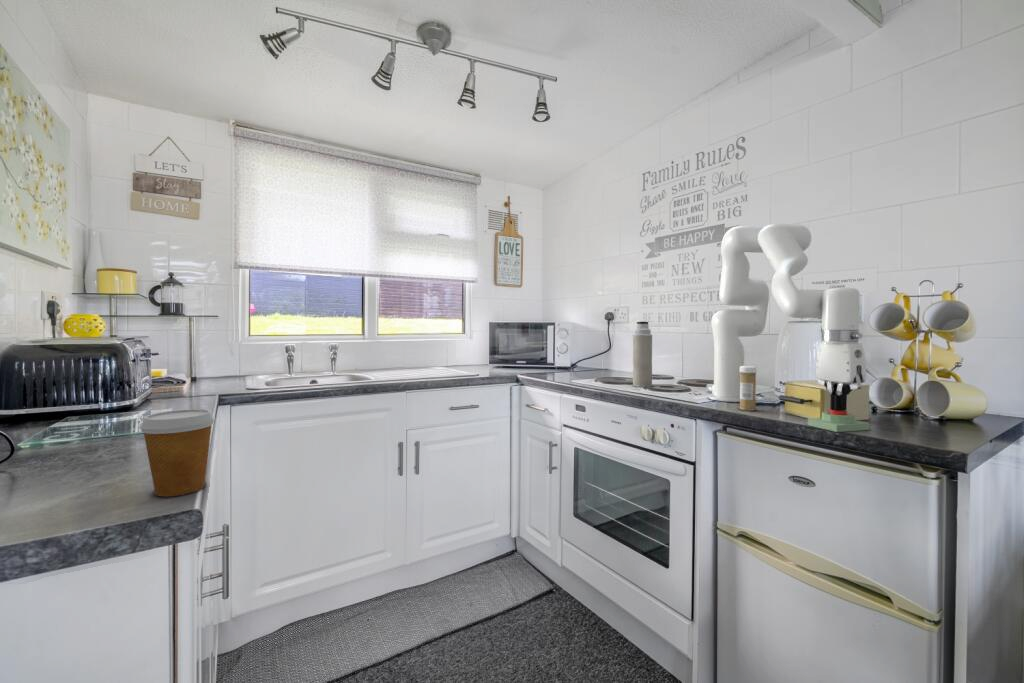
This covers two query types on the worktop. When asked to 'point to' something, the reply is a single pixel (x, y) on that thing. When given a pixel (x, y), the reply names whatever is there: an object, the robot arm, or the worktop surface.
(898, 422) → the worktop surface
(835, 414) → the button
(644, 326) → the thermos bottle
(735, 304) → the robot arm
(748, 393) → the sprinkles bottle
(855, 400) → the drawer cabinet
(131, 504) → the worktop surface
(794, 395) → the yellow drawer
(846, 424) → the control block
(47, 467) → the worktop surface
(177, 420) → the disposable coffee cup
